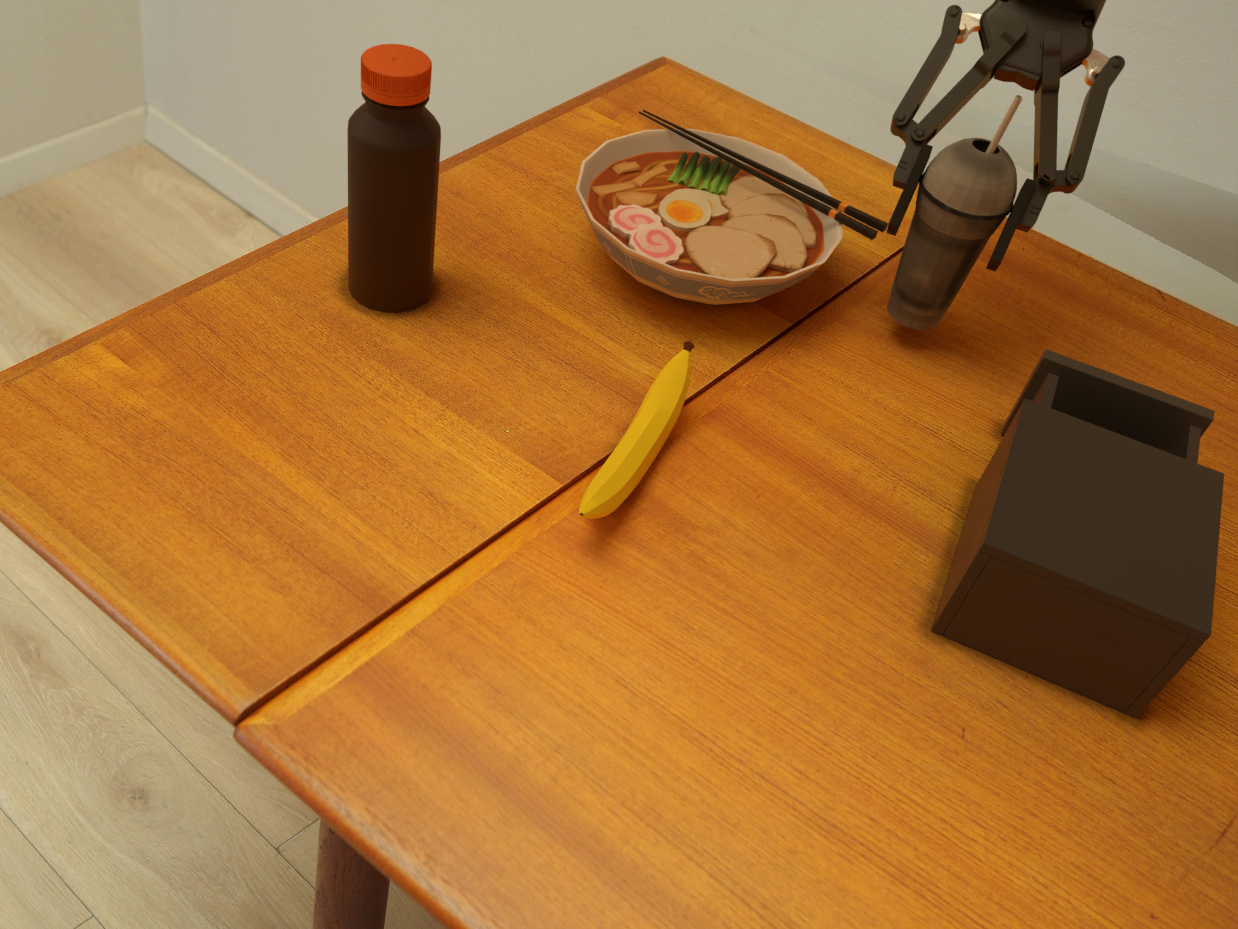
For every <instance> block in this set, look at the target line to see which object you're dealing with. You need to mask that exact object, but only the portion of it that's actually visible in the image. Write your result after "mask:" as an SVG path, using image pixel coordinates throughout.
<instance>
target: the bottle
mask: <svg viewBox="0 0 1238 929" xmlns="http://www.w3.org/2000/svg"><path fill="white" fill-rule="evenodd" d="M432 67H433V62H432V59H431V58H430V57H429V55H428V54H427V53H425V51H424V52H423V51H422V50H421V49H418V48H416V47H414V46H409V45H406V44H400V43H382V44H378V45H373V46H370V47H369V48H367V49H366V50H364V52H362V53H361V56H360V89H361V97H362V99H363V100H364V101H365V102H363V103H362V104H361V105H360V106H358V107H357V109H355V111H353V113H352V114H351V115H350V116H349V118H348V122H347V251H348V252H347V275H348V276H347V277H348V278H347V279H348V280H347V283H348V286H347V287H348V288H347V289H348V291H349V294H350V296H351V298H352V299H353V300H355V301H356V302H357V303H358V304H359V305H361V306H363V307H364V308H367V309H369V310H372V311H375V312H380V313H383V314H385V313H386V314H387V313H388V314H399V313H400V314H401V313H408V312H411V311H413V310H417V309H418V308H421V307H422V306H423V305H425V304H426V303H427V302H429V299H430V298H431V297H432V294H433V282H434V281H433V280H434V262H435V249H436V248H435V247H436V246H435V244H436V230H437V212H438V196H439V179H440V178H439V176H440V162H441V161H440V159H441V143H442V128H441V127H442V126H441V125H440V122H439V121H438V120H437V118H436V117H435V115H434V114H433V113H432V112H431V111H430V110H429V109H428V108H427V107H426V106H427V104H428V102H429V101H430V95H431V89H432V88H431V87H432V86H431V85H432V69H433V68H432Z"/></svg>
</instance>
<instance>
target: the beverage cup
mask: <svg viewBox="0 0 1238 929" xmlns="http://www.w3.org/2000/svg"><path fill="white" fill-rule="evenodd" d="M1022 100H1023V96H1022V95H1021V94H1016V95H1015V96H1014V98H1013V100H1012V102H1011V104H1010V106H1009V108H1008V110H1007V111H1006V112H1005V115H1004V117H1003V119H1002V121H1001V123H1000V125H999V127H998V129H997V130H996V132H995V134H994V136H993V138H992V139H991V140H990V139H987V138H983V137H969V138H963V139H960V140H957V141H955V142H953V143H951V144H948V145H947V146H945V147H944V148H943V149H941V150H940V151H939V152H938V153H937V154H936V155H935V156H934V157H933V159H932V160H931V161H930V162H929V164H928V165H927V166H926V167H925V169H924V172H923V174H922V176H921V177H920V179H919V183H918V188H917V194H916V199H915V208H914V211H913V215H912V219H911V222H910V226H909V229H908V231H907V235H906V238H905V242H904V245H903V249H902V252H901V255H900V258H899V260H898V261H899V262H898V265H897V268H896V271H895V275H894V278H893V282H892V284H891V289H890V294H889V299H888V302H887V305H886V311H887V312H888V315H889V316H890V317H891V318H892V320H894V321H895V322H897V323H898V324H899V325H902V326H904V327H906V328H909V329H913V330H915V331H916V330H917V331H928V330H933V329H935V328H937V327H938V325H939V324H940V323H941V320H942V319H943V317H944V315H945V314H946V313H947V312H948V311H949V309H950V307H951V305H952V304H953V302H954V301H955V298H956V297H957V295H958V294H959V293H960V290H961V289H962V287H963V285H964V284H965V281H966V280H967V278H968V277H969V274H970V273H971V271H972V270H973V268H974V266H975V264H976V263H977V261H978V259H979V258H980V255H981V254H982V252H983V250H984V249H985V247H986V245H987V244H988V242H989V240H990V238H991V237H992V236H993V235H994V233H996V231H997V230H998V229H999V227H1000V226H1001V224H1002V223H1003V221H1004V220H1005V219H1006V217H1008V216H1009V214H1010V212H1011V210H1012V209H1013V205H1014V203H1015V200H1016V197H1017V190H1018V173H1017V168H1016V165H1015V162H1014V161H1013V159H1012V158H1011V155H1010V153H1009V152H1008V151H1007V150H1006V149H1005V148H1004V147H1002V145H1000V141H1001V140H1002V138H1003V136H1004V134H1005V133H1006V131H1007V129H1008V127H1009V125H1010V123H1011V121H1012V119H1013V118H1014V115H1015V114H1016V112H1017V110H1018V108H1019V106H1020V104H1021V102H1022Z"/></svg>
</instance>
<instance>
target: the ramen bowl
mask: <svg viewBox="0 0 1238 929" xmlns="http://www.w3.org/2000/svg"><path fill="white" fill-rule="evenodd" d="M638 114H639V115H642V116H643V117H645V118H647V119H648V120H650V121H652V122H654V123H656V124H658V125H659V126H662V127H663V128H661V129H660V128H659V129H658V128H657V129H643V130H639V131H636V132H631V133H629V134H624V135H622V136H618V137H613V138H611V139H608V140H605V141H604V142H603V143H602V144H600V146H598V147H597V148H596V149H594V150H593V152H591V153H590V154H589V155H588V156H586V157H585V158H584V159H583V160H582V161H581V165H580V169H579V173H578V177H577V181H576V186H575V192H576V195H577V197H578V200H579V202H580V206H581V208H582V210H583V212H584V214H585V216H586V219H587V220H588V222H589V224H590V226H591V228H592V229H593V232H594V234H595V236H596V238H597V239H598V241H599V243H600V245H601V248H602V249H603V250H604V251H605V253H606V254H607V255H608V256H609V258H610V259H611V260H612V261H613V262H615V263H616V265H618V266H619V267H620V268H622V269H623V270H624V271H625V272H626V273H628V274H629V275H630V276H631V277H632V278H634V279H635V280H636V281H637V282H639V283H641V284H643V285H645V286H648V287H650V288H652V289H654V290H657V291H659V292H661V293H664V294H665V295H669V296H670V297H673V298H675V299H679V300H685V301H691V302H696V303H700V304H707V305H713V306H714V305H715V306H717V305H727V304H728V305H730V304H731V305H732V304H741V303H755V302H757V301H759V300H761V299H764V298H766V297H769V296H772V295H775V294H777V293H779V292H781V291H783V290H785V289H788V288H791V287H793V286H796V285H797V284H799V283H800V282H802V281H803V280H805V279H806V278H808V277H810V276H811V275H812V274H814V273H815V272H816V271H817V270H818V269H819V268H820V267H822V265H823V264H825V263H826V261H827V260H828V258H829V257H830V256H831V254H832V253H833V251H834V250H835V249H836V248H837V246H838V245H839V244H840V242H841V241H842V239H843V238H844V234H843V233H844V232H843V226H845V227H846V228H849V229H851V230H853V231H854V232H856V233H858V234H859V235H862V236H863V237H865V238H867V239H869V240H870V241H873V240H874V239H876V238H877V236H878V232H881V233H884V232H886V231H887V228H888V224H889V222H886V221H884V220H882V219H880V218H877V217H875V216H873V215H871V214H869V213H867V212H865V211H863V210H861V209H858V208H856V207H854V206H852V205H850V204H846V203H845V202H844V201H841V200H839V199H837V198H835V197H833V195H832V194H831V193H830V192H829V190H828V189H827V188H826V186H825V185H824V183H823V182H822V181H821V180H820V179H819V178H818V177H816V176H815V175H813V174H812V173H811V172H809V171H807V170H806V169H805V168H803V167H802V166H800V165H799V164H797V163H796V162H795V161H794V160H792V159H790V157H787V156H786V155H785V154H782V153H780V152H777V151H775V150H772V149H769V148H767V147H764V146H761V145H759V144H757V143H754V142H751V141H749V140H746V139H743V138H741V137H739V136H732V135H728V134H722V133H716V132H712V131H706V130H700V129H695V128H684V127H682V126H680V125H678V124H675V123H673V122H672V121H669V120H667V119H665V118H663V117H660V116H658V115H656V114H654V113H651V112H649V111H647V110H645V109H642V111H640V110H639V111H638Z"/></svg>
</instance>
